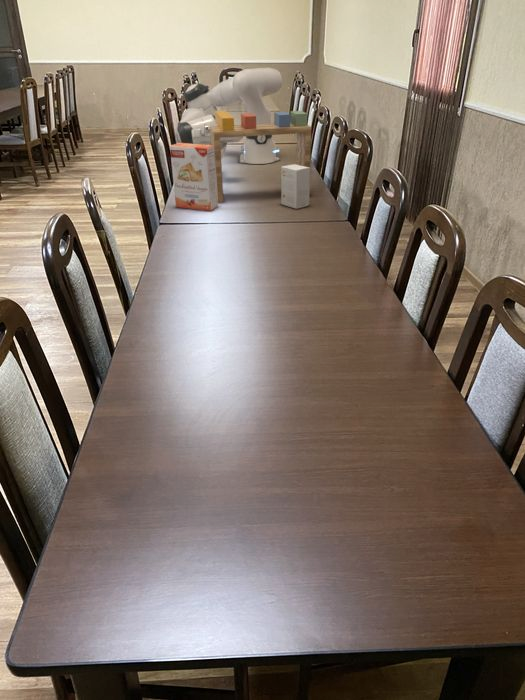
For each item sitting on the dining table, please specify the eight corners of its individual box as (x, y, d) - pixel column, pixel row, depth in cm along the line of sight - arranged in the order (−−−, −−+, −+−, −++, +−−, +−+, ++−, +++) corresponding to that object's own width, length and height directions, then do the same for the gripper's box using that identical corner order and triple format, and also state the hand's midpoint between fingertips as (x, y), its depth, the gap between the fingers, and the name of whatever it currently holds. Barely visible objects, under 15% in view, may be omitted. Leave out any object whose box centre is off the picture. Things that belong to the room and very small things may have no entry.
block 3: (290, 123, 194) (290, 111, 192) (301, 122, 194) (301, 110, 192) (295, 126, 187) (296, 114, 185) (307, 126, 188) (307, 113, 186)
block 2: (274, 124, 193) (274, 112, 191) (285, 123, 193) (285, 111, 191) (279, 127, 186) (279, 114, 184) (290, 126, 187) (290, 114, 185)
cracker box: (175, 208, 188) (168, 145, 177) (183, 203, 193) (177, 142, 182) (210, 211, 184) (206, 147, 173) (218, 207, 188) (214, 144, 178)
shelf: (214, 194, 203) (209, 126, 191) (301, 188, 208) (302, 121, 196) (218, 202, 193) (213, 131, 181) (309, 196, 198) (311, 126, 186)
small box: (309, 205, 188) (310, 167, 181) (296, 209, 184) (296, 170, 178) (294, 201, 193) (294, 163, 186) (280, 204, 190) (280, 166, 183)
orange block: (215, 122, 198) (214, 111, 196) (226, 122, 199) (225, 110, 197) (222, 131, 181) (221, 118, 179) (234, 130, 182) (233, 117, 180)
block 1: (241, 125, 191) (240, 113, 189) (252, 125, 191) (251, 113, 189) (245, 129, 184) (244, 116, 182) (256, 128, 185) (256, 116, 183)
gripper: (242, 147, 218) (246, 134, 204) (192, 150, 215) (193, 136, 201) (240, 131, 218) (245, 117, 204) (190, 134, 215) (191, 119, 201)
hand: (218, 127), depth 203 cm, fingers open, 8 cm apart
